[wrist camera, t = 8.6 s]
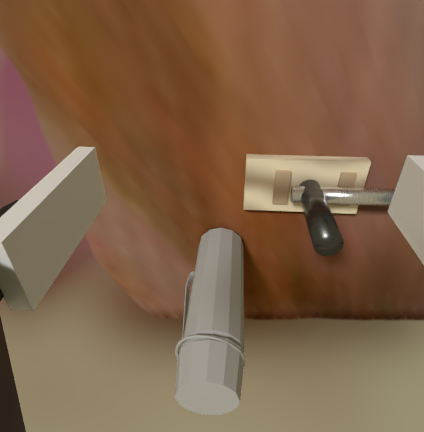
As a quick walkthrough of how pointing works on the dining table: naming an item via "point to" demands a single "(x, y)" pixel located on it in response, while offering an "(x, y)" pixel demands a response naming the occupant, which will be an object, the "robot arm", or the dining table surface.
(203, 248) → the water bottle
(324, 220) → the metal lever handle
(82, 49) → the dining table surface
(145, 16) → the dining table surface
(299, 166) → the panel
